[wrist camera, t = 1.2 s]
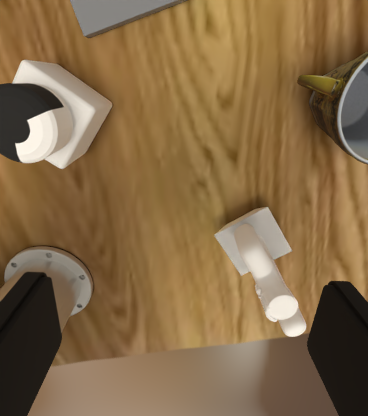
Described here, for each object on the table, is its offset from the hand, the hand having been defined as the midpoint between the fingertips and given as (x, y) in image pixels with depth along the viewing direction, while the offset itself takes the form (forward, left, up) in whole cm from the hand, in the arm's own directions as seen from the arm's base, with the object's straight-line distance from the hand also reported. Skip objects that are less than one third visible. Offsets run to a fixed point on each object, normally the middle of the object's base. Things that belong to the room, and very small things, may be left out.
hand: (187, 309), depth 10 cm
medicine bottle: (-11, +8, -27) cm, 30 cm away
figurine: (+5, -13, -27) cm, 30 cm away
